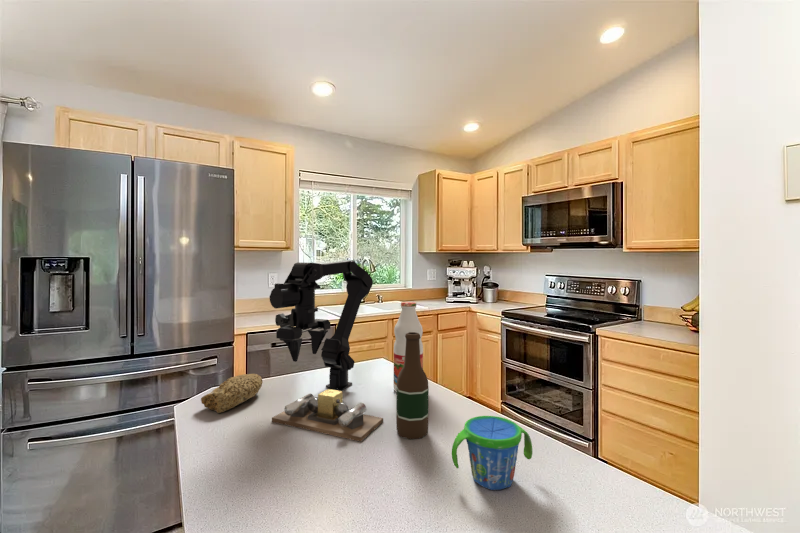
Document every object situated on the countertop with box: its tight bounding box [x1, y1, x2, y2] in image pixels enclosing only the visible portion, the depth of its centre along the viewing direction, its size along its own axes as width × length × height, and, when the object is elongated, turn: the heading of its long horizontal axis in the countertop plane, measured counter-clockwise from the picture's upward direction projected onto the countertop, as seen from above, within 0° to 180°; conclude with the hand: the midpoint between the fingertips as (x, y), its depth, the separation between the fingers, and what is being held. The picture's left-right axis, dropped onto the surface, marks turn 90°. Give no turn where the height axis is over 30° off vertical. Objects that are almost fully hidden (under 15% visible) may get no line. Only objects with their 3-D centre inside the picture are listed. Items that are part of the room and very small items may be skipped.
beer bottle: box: [395, 332, 430, 440], centre depth 90 cm, size 8×8×24 cm
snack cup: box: [451, 415, 533, 491], centre depth 71 cm, size 16×10×10 cm
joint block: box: [317, 388, 344, 420], centre depth 98 cm, size 5×4×6 cm
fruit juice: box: [393, 301, 424, 393], centre depth 120 cm, size 9×9×28 cm
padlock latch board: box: [271, 403, 384, 442], centre depth 96 cm, size 12×26×4 cm, turn 67°
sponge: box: [200, 373, 264, 414], centre depth 111 cm, size 13×8×20 cm
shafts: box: [283, 393, 367, 427], centre depth 95 cm, size 9×18×4 cm, turn 67°
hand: (305, 357), depth 111 cm, fingers open, 9 cm apart
